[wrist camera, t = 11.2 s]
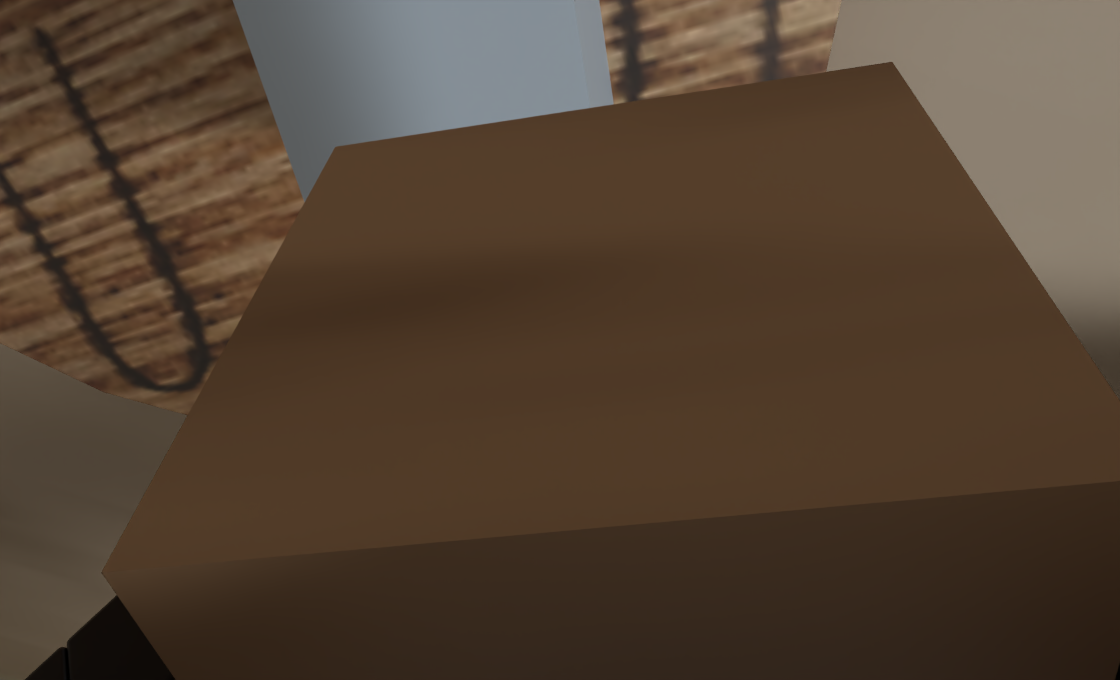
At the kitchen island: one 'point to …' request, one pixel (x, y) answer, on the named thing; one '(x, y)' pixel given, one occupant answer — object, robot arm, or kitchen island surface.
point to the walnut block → (644, 416)
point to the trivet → (230, 165)
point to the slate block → (418, 67)
